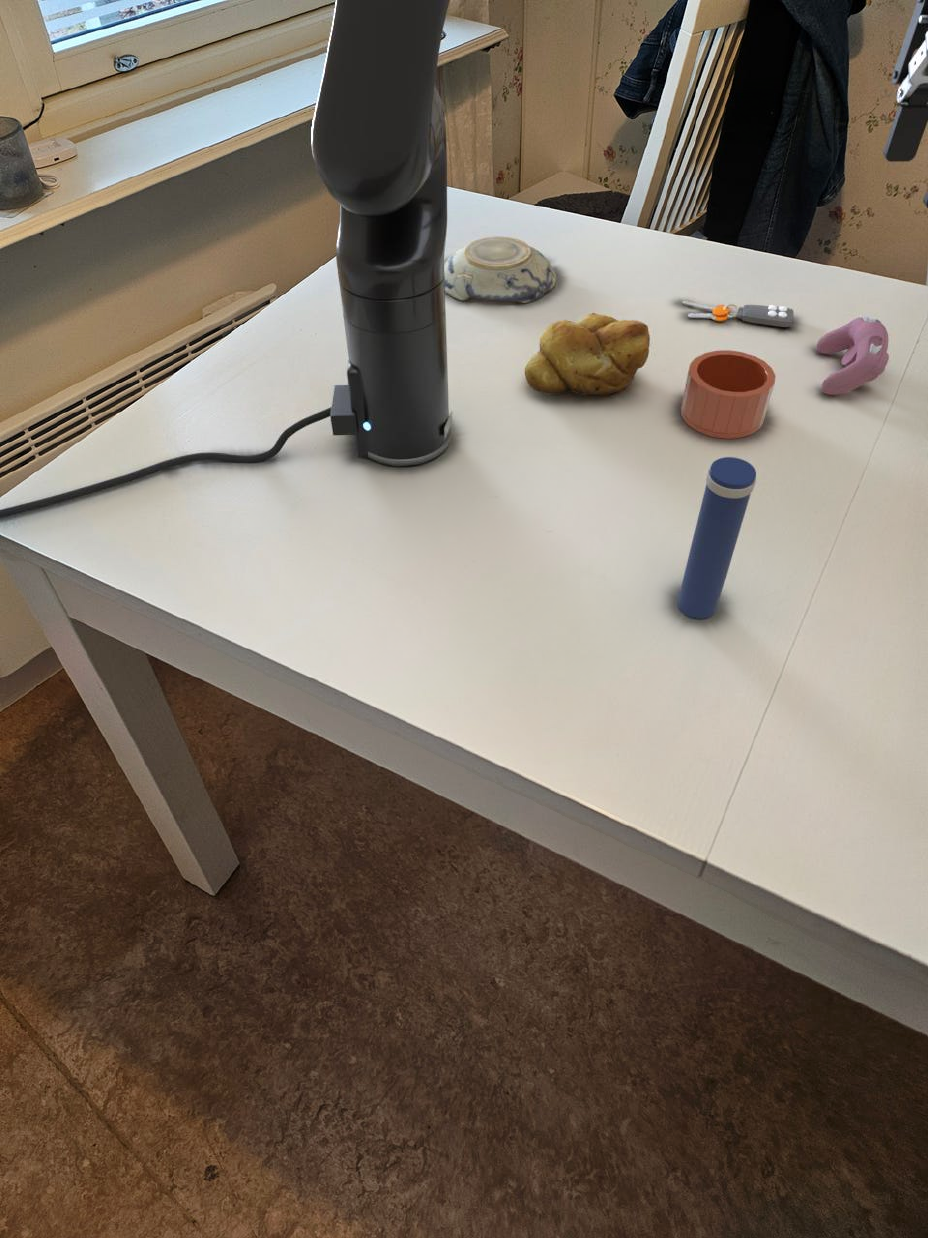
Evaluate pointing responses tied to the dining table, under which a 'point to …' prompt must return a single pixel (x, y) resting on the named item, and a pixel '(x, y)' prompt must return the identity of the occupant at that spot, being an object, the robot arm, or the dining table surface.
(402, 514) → the dining table surface
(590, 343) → the bread roll
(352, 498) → the dining table surface
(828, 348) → the video game controller
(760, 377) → the holder
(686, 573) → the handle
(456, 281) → the decorative bowl
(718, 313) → the key chain
